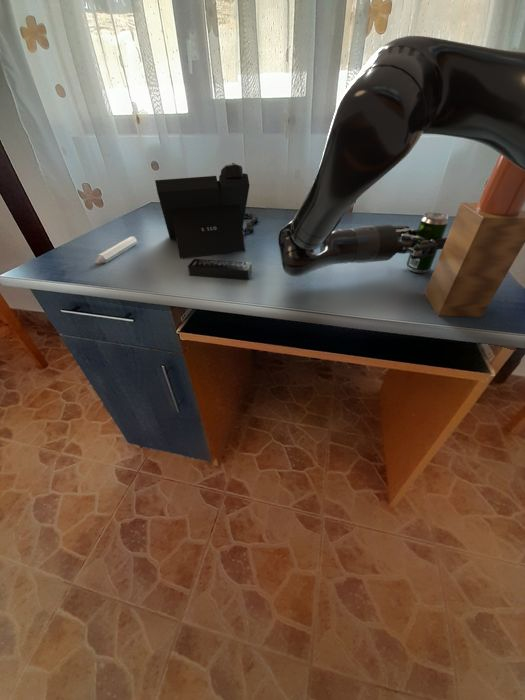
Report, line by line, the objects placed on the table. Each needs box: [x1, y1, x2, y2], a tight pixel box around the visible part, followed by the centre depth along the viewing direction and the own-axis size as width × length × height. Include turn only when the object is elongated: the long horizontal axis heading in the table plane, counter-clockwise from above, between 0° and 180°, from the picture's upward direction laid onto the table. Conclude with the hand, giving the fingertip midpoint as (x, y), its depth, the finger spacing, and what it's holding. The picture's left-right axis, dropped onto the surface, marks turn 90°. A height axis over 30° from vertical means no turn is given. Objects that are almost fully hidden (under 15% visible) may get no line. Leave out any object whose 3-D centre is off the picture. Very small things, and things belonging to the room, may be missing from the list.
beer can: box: [406, 211, 450, 274], centre depth 67 cm, size 5×5×12 cm
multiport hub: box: [187, 258, 253, 281], centre depth 70 cm, size 4×14×2 cm, turn 80°
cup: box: [476, 153, 525, 216], centre depth 45 cm, size 6×6×8 cm
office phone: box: [154, 162, 259, 260], centre depth 83 cm, size 29×28×20 cm
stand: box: [424, 202, 525, 318], centre depth 54 cm, size 8×8×18 cm
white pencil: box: [94, 236, 138, 265], centre depth 79 cm, size 3×2×16 cm
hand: (437, 238), depth 67 cm, fingers closed on beer can, 5 cm apart
